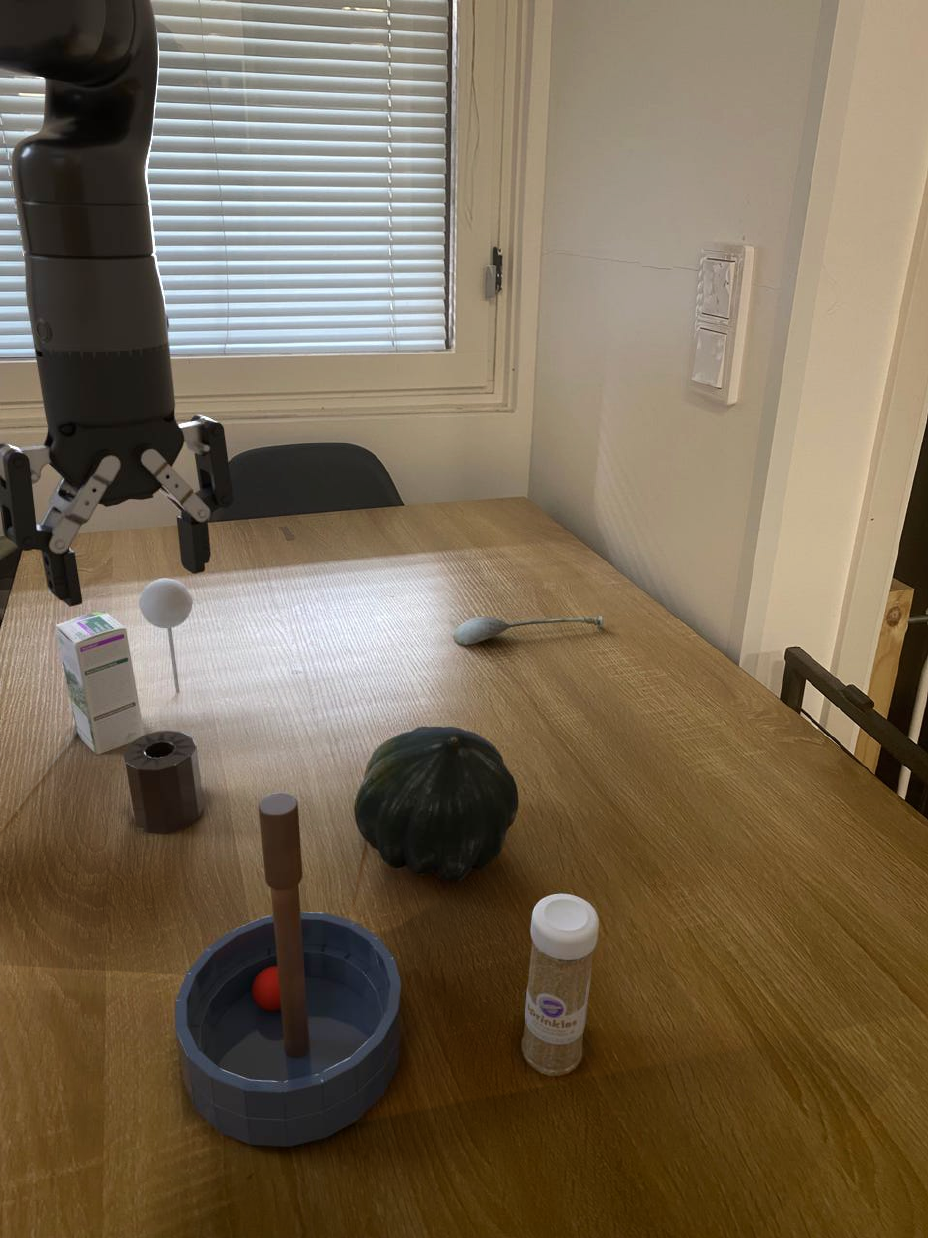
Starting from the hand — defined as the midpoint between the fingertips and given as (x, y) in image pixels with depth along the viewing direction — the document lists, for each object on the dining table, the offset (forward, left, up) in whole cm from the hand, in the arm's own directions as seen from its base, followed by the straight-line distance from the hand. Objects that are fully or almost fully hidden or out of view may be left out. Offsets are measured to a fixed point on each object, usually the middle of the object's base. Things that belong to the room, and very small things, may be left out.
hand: (134, 585), depth 61 cm
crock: (-7, +17, -33) cm, 38 cm away
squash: (+20, +14, -33) cm, 41 cm away
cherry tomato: (+9, -6, -31) cm, 32 cm away
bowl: (+11, -9, -33) cm, 36 cm away
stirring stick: (+11, -9, -32) cm, 35 cm away
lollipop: (-14, +41, -33) cm, 55 cm away
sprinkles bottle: (+30, -8, -33) cm, 45 cm away
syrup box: (-18, +30, -33) cm, 48 cm away
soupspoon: (+30, +61, -33) cm, 76 cm away
